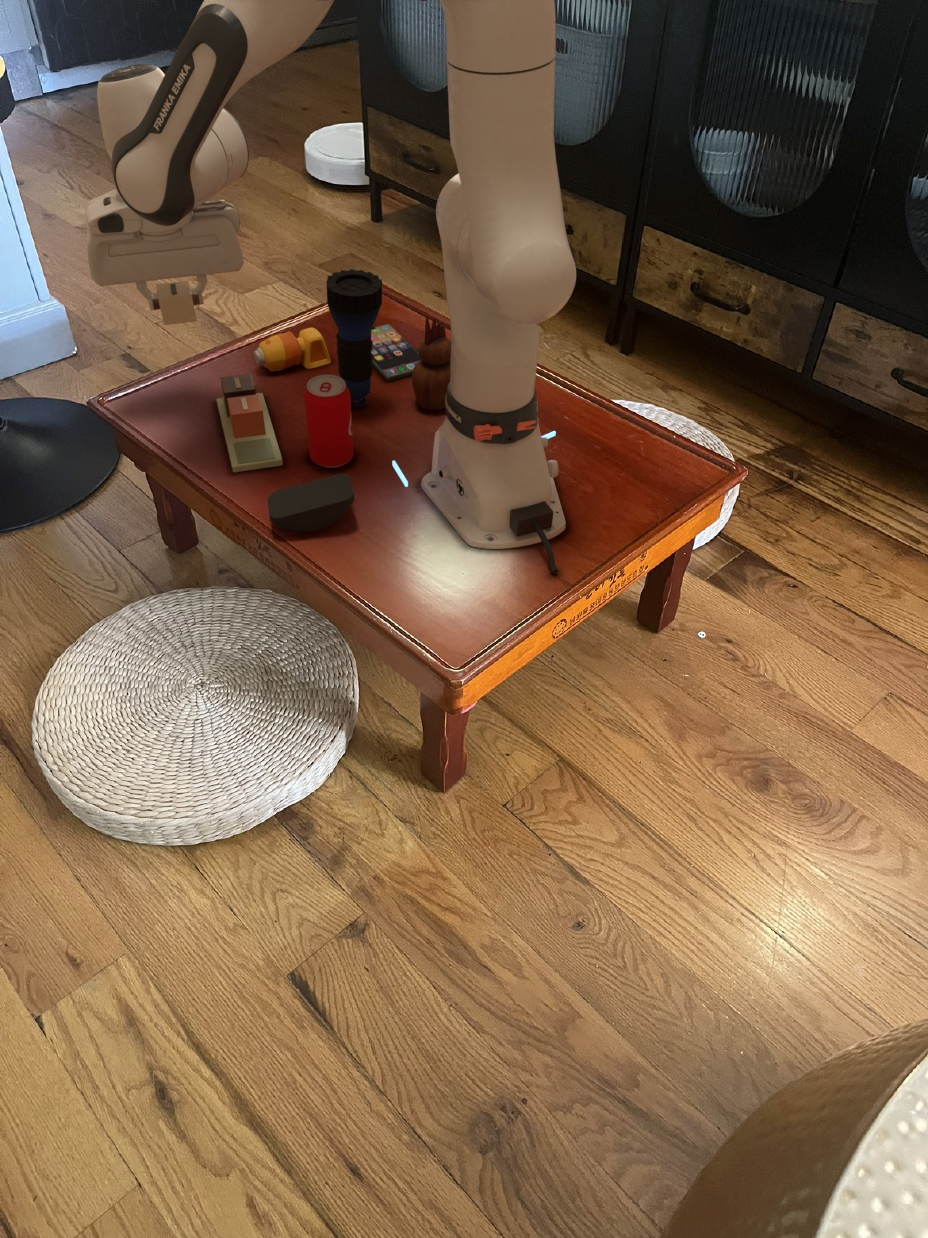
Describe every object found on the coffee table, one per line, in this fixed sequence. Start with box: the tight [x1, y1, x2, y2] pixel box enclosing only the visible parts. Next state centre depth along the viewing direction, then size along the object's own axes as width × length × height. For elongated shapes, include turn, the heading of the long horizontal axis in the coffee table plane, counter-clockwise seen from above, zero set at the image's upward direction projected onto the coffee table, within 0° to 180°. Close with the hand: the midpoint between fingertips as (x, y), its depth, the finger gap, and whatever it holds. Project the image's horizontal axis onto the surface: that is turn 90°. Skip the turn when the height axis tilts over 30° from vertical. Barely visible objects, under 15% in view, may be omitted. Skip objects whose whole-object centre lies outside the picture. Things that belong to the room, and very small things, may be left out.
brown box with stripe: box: [220, 373, 257, 416], centre depth 139 cm, size 4×4×4 cm
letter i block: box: [155, 280, 198, 326], centre depth 131 cm, size 4×4×4 cm
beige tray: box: [216, 392, 284, 473], centre depth 135 cm, size 18×7×5 cm, turn 17°
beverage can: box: [303, 374, 355, 469], centre depth 130 cm, size 6×6×12 cm
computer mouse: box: [267, 473, 355, 533], centre depth 122 cm, size 6×11×4 cm, turn 102°
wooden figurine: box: [411, 317, 451, 411], centre depth 139 cm, size 7×6×15 cm
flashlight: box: [325, 269, 383, 408], centre depth 136 cm, size 8×8×20 cm
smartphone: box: [371, 323, 421, 382], centre depth 154 cm, size 8×15×1 cm, turn 30°
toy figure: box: [253, 327, 332, 372], centre depth 149 cm, size 5×6×12 cm
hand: (176, 305), depth 131 cm, fingers closed on letter i block, 4 cm apart
